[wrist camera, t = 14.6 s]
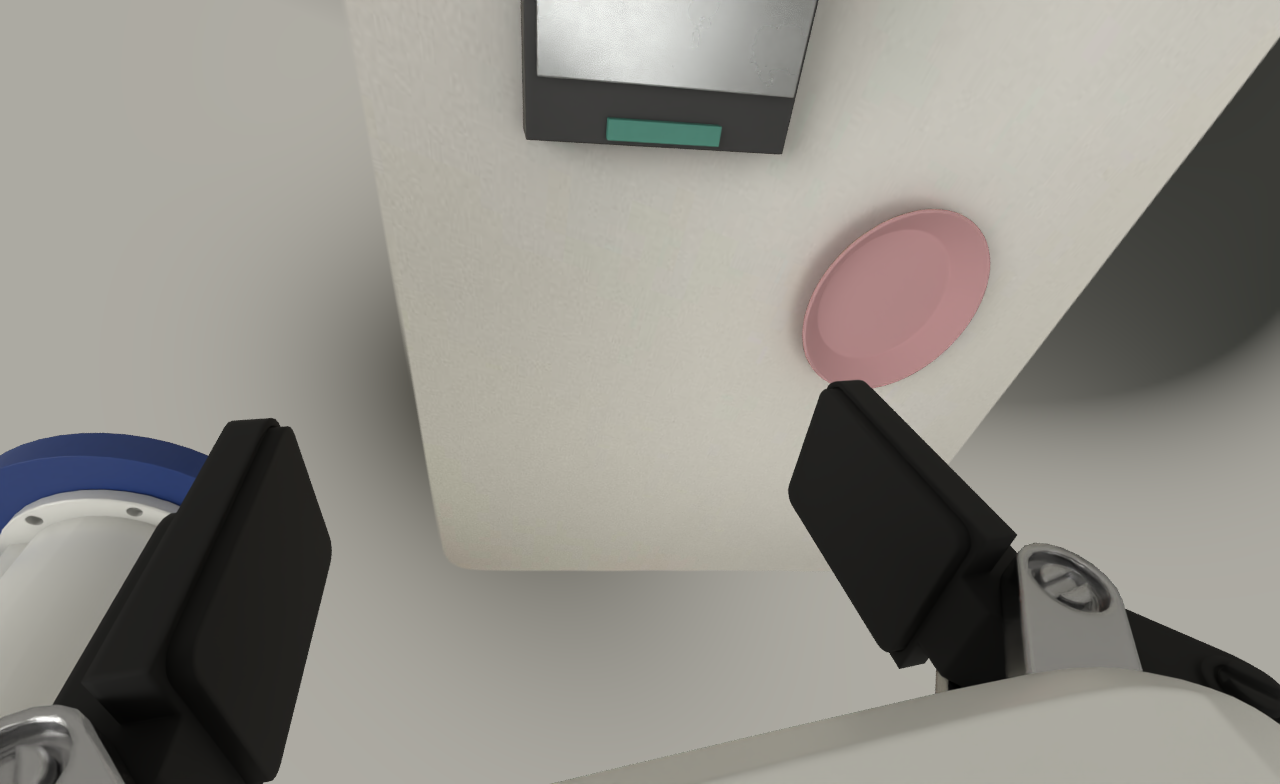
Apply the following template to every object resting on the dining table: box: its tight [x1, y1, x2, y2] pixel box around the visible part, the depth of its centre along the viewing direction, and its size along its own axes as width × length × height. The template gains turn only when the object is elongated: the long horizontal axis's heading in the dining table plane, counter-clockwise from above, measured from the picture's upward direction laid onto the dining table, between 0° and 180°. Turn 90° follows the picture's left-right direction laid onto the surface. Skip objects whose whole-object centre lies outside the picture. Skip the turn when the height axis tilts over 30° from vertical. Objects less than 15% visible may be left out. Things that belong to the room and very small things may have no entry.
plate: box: [802, 209, 990, 388], centre depth 41 cm, size 14×14×2 cm
